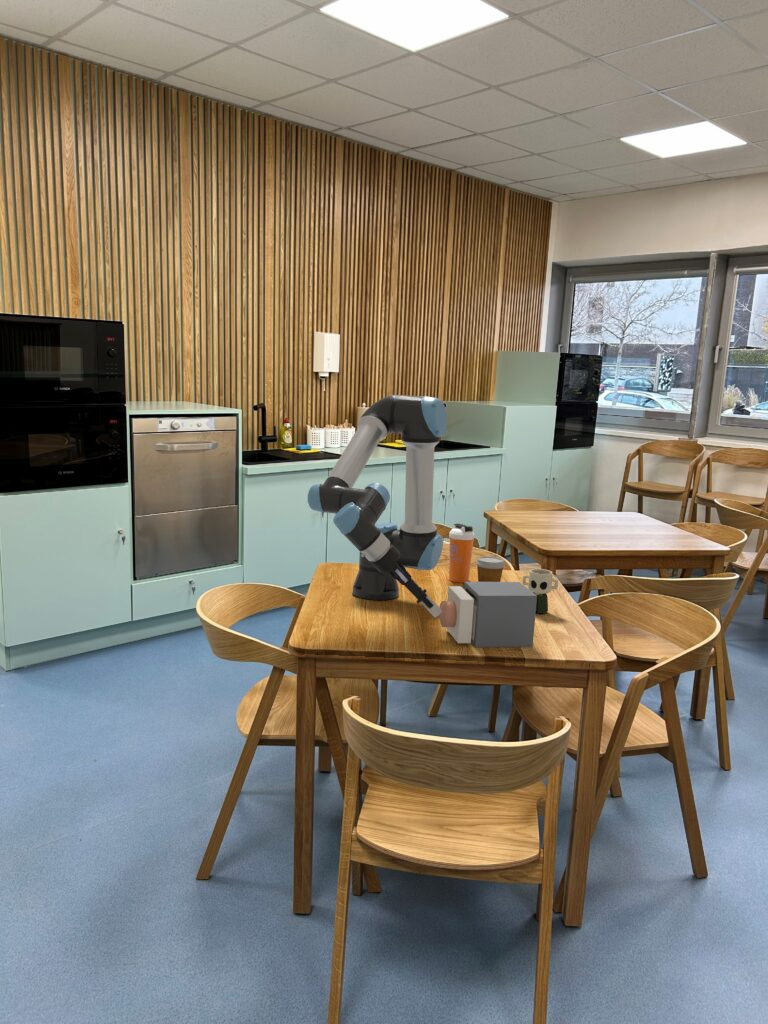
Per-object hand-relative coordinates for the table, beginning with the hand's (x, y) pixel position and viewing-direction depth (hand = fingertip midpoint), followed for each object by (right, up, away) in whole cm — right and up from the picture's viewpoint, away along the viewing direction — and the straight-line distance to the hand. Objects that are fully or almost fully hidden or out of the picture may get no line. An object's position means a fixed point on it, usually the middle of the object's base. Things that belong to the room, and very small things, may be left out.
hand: (438, 613), depth 204 cm
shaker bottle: (+12, +3, +65) cm, 67 cm away
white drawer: (+11, -6, +3) cm, 13 cm away
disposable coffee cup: (+20, 0, +49) cm, 53 cm away
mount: (+16, -7, +5) cm, 18 cm away
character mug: (+33, -4, +32) cm, 46 cm away
